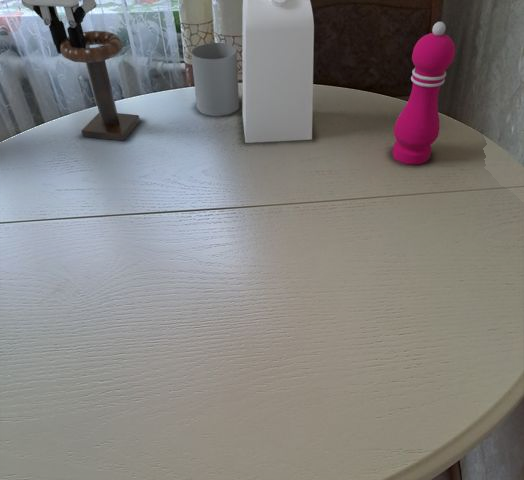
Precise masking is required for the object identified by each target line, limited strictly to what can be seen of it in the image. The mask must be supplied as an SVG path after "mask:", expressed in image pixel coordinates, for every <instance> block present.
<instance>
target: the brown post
mask: <svg viewBox="0 0 524 480" xmlns="http://www.w3.org/2000/svg"><path fill="white" fill-rule="evenodd" d="M85 65H86V69H87V73H88V76H89V80H90V85H91V88H92V92H93V95H94V99H95V104H96V106H97V111H98V113H97V114H96V115H95V116H94V117H93V118H92V119H90V121H89V122H88V123H87V124H86V125H85V126H84V127H83V128H82V129H81V134H82V137H83V138H91V139H102V140H112V141H121V142H123V141H124V140H126V138H127V137H128V136H129V135H130V133H131V132H132V131H134V129H135V128H136V126H137V125H138V124H139V123H140V122H141V120H140V119H141V118H140V115H139V114H133V113H121V112H118V110H117V106H116V102H115V97H114V94H113V89H112V84H111V80H110V76H109V72H108V67H107V64H106V60H104V61H99V62H91V63H85Z"/></svg>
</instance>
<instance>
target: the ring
mask: <svg viewBox="0 0 524 480" xmlns="http://www.w3.org/2000/svg"><path fill="white" fill-rule="evenodd" d="M83 33H84V37H85V41H86V49H85V48H74V47H72V45H71V42H70V38H69V35H67V38H66V39H64V40H63V41H62V42H61V43H60V50H61V54H60V55H61V56H62V57H63V58H65V59H66V60H69V61H71V62H73V63H84V64H86V63H91V62H99V61H104V60H105V61H106V60H110V59H112V58H115V57H116V56H118V54H119V53H121V52H122V50H123V43H122V39H121V38H120V36H118V34H115V33H112V32H110V31H105V30H104V31H103V30H87V31H83ZM96 45H99V46H96ZM87 46H95V47H87Z"/></svg>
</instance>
